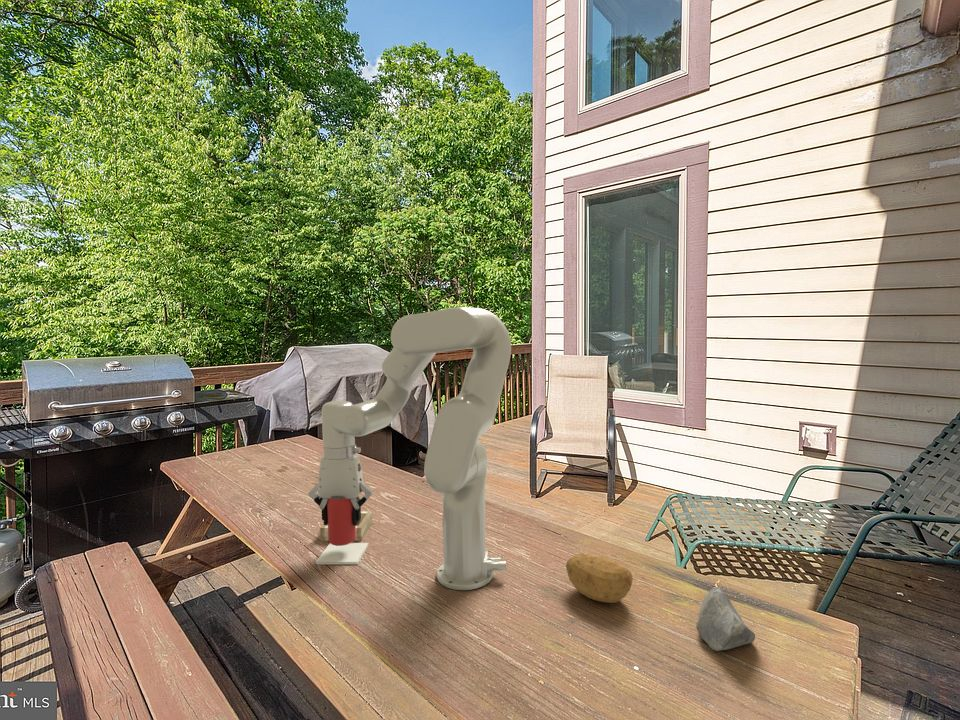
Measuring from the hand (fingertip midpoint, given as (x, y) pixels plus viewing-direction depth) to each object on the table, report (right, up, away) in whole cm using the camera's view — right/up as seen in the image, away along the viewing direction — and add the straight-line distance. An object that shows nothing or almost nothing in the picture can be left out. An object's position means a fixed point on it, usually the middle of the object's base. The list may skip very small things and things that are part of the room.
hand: (341, 522), depth 119 cm
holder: (-2, -7, +14) cm, 16 cm away
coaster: (0, -8, +1) cm, 8 cm away
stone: (+77, -10, -33) cm, 84 cm away
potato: (+58, -9, -20) cm, 62 cm away
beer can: (0, -5, 0) cm, 5 cm away
